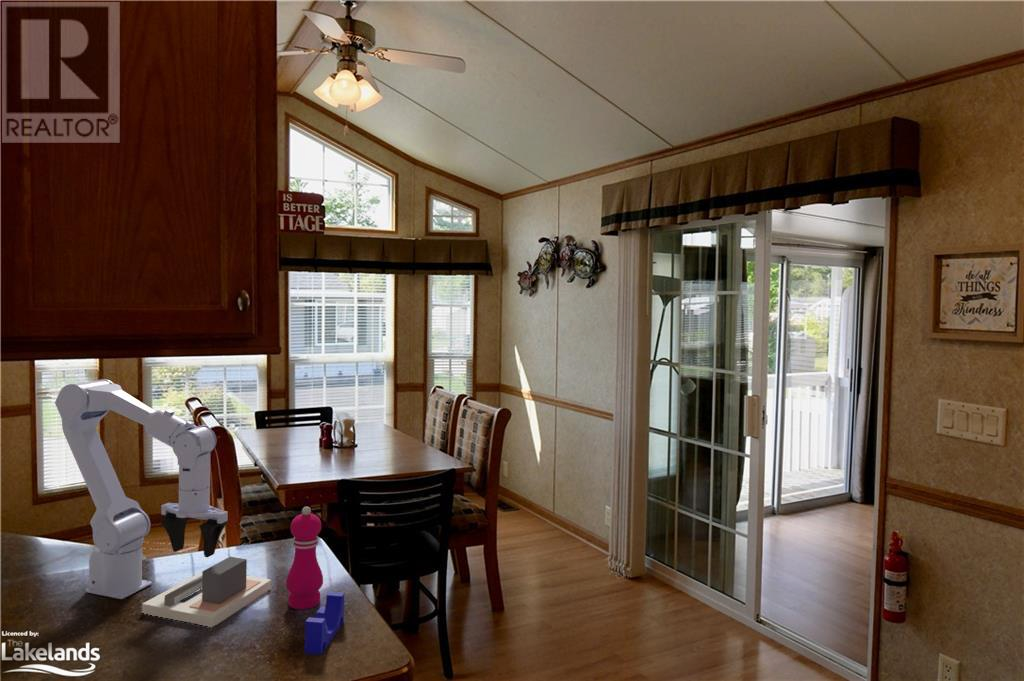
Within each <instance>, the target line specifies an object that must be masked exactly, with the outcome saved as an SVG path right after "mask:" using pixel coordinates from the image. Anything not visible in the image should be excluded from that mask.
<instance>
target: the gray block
mask: <svg viewBox="0 0 1024 681" xmlns="http://www.w3.org/2000/svg"><path fill="white" fill-rule="evenodd" d="M247 563H248V562H247V558H241V557H235V556H228V557H226V558H224V559H222V560H221V561H219V562H217V563H215V564H213V565H211V566H210V567H208V568H206V569H204V570H203V571H201V572H202V590H201V593H202V601H203V602H208V603H214V604H219V605H220V604H221V603H223V602H224V601H226V600H228V599H229V598H231V597H232V596H234V595H236V594H237V593H239V592H240V591H242V590H244V589H245V588H246V575H247V570H248V569H247V567H248V566H247Z"/></svg>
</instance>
